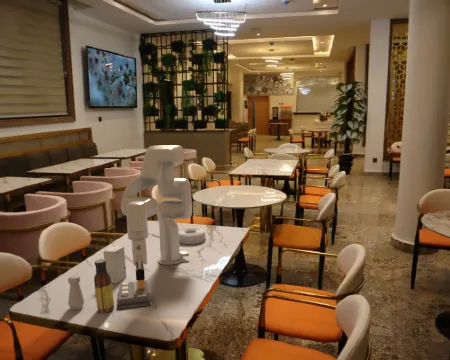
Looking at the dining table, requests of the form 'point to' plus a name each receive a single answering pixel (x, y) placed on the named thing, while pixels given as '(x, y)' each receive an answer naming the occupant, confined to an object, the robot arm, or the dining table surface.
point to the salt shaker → (75, 293)
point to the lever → (141, 284)
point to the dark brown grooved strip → (133, 305)
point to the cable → (191, 235)
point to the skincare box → (115, 263)
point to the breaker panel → (133, 293)
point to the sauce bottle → (103, 287)
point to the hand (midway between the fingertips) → (140, 279)
